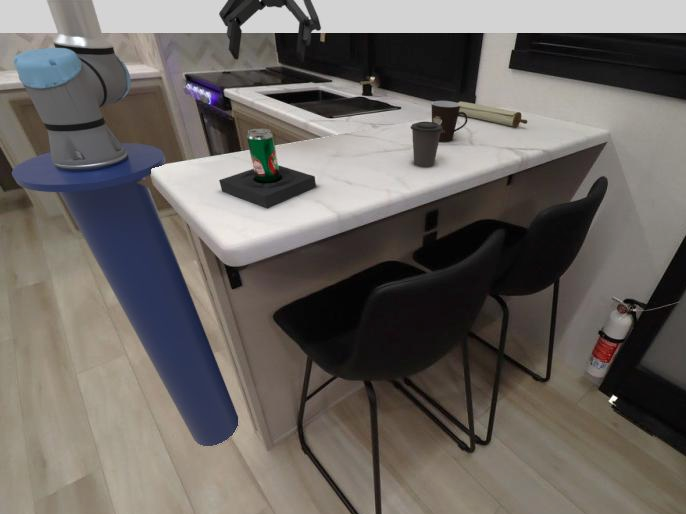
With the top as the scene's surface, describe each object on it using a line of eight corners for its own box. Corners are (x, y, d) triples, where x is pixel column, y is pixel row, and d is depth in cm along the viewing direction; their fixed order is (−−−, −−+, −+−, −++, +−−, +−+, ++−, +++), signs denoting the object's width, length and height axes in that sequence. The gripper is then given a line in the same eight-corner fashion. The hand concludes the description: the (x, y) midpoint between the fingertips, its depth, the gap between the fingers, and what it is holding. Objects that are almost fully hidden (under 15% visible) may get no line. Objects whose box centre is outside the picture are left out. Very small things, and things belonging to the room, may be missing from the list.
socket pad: (221, 191, 81) (218, 179, 79) (272, 173, 90) (270, 162, 88) (267, 208, 75) (264, 196, 73) (316, 187, 84) (314, 176, 83)
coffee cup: (445, 164, 99) (450, 124, 93) (424, 171, 95) (428, 129, 88) (423, 156, 104) (426, 117, 97) (402, 163, 99) (403, 122, 93)
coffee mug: (424, 136, 120) (426, 101, 113) (447, 134, 123) (451, 100, 116) (441, 147, 111) (445, 110, 105) (466, 144, 114) (471, 108, 108)
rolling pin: (529, 128, 133) (532, 113, 129) (521, 131, 129) (525, 115, 126) (454, 112, 149) (455, 98, 146) (445, 114, 145) (447, 99, 142)
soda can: (253, 188, 83) (241, 130, 75) (274, 183, 85) (265, 126, 78) (264, 195, 80) (252, 135, 72) (286, 189, 82) (276, 131, 75)
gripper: (339, -18, 82) (331, 72, 80) (227, -22, 83) (215, 66, 80) (333, -54, 75) (323, 44, 72) (209, -59, 75) (195, 38, 73)
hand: (266, 56), depth 76 cm, fingers open, 13 cm apart
